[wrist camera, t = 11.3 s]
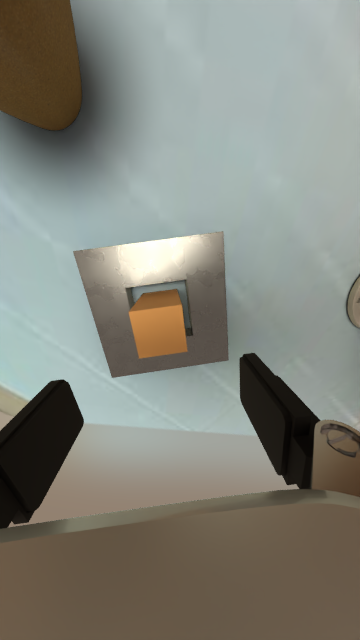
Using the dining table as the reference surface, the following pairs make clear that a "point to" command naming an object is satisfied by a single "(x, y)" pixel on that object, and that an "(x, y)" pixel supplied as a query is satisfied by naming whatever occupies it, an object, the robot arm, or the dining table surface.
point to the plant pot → (39, 63)
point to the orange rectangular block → (158, 324)
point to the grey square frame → (150, 268)
